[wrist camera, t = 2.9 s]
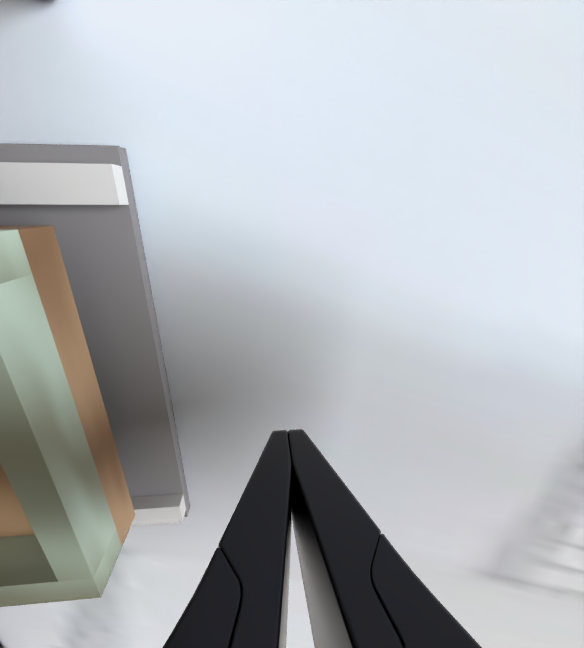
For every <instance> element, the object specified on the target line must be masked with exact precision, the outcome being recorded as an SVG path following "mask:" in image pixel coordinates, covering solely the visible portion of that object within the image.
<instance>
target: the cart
mask: <svg viewBox="0 0 584 648" xmlns="http://www.w3.org/2000/svg"><path fill="white" fill-rule="evenodd" d="M134 517H135V512H134V508H133V505H132V501H131V498H130V494H129V491H128V487H127V484H126V480H125V477H124V473H123V470H122V466H121V463H120V459H119V455H118V452H117V448H116V445H115V441H114V438H113V434H112V431H111V427H110V424H109V420H108V417H107V413H106V410H105V406H104V403H103V399H102V396H101V392H100V389H99V385H98V382H97V378H96V375H95V371H94V368H93V364H92V361H91V357H90V354H89V350H88V347H87V343H86V339H85V336H84V332H83V329H82V325H81V322H80V318H79V315H78V311H77V308H76V304H75V301H74V297H73V294H72V290H71V287H70V283H69V280H68V276H67V273H66V269H65V266H64V262H63V259H62V255H61V252H60V248H59V245H58V241H57V238H56V234H55V231H54V227H53V226H0V607H5V606H15V605H26V604H36V603H47V602H58V601H68V600H79V599H90V598H100V597H101V596H102V594H103V591H104V589H105V587H106V584H107V582H108V579H109V577H110V575H111V572H112V570H113V567H114V565H115V563H116V560H117V558H118V555H119V553H120V550H121V548H122V546H123V543H124V541H125V538H126V536H127V534H128V531H129V529H130V526H131V524H132V522H133V519H134Z"/></svg>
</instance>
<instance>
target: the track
mask: <svg viewBox="0 0 584 648" xmlns="http://www.w3.org/2000/svg"><path fill="white" fill-rule="evenodd" d="M0 226H53V227H54V231H55V234H56V238H57V241H58V245H59V248H60V252H61V255H62V259H63V262H64V266H65V269H66V273H67V276H68V280H69V283H70V287H71V290H72V294H73V297H74V301H75V304H76V308H77V311H78V315H79V318H80V322H81V325H82V329H83V332H84V336H85V339H86V343H87V347H88V350H89V354H90V357H91V361H92V364H93V368H94V371H95V375H96V378H97V382H98V385H99V389H100V392H101V396H102V399H103V403H104V406H105V410H106V413H107V417H108V420H109V424H110V427H111V431H112V434H113V438H114V441H115V445H116V448H117V452H118V455H119V459H120V463H121V466H122V470H123V473H124V477H125V480H126V484H127V487H128V491H129V494H130V498H131V501H132V505H133V508H134V512H135V517H134V519H133V522H132V524H131V526H138V525H151V524H164V523H177V522H183V519H184V517H187V516H188V512H189V508H190V504H189V499H188V493H187V488H186V482H185V476H184V471H183V465H182V460H181V454H180V449H179V443H178V437H177V432H176V426H175V421H174V415H173V410H172V404H171V399H170V393H169V387H168V382H167V376H166V371H165V365H164V360H163V354H162V348H161V343H160V337H159V332H158V326H157V321H156V315H155V309H154V304H153V298H152V293H151V287H150V282H149V276H148V271H147V265H146V259H145V254H144V248H143V243H142V237H141V232H140V226H139V220H138V215H137V209H136V204H135V198H134V193H133V187H132V182H131V176H130V170H129V165H128V159H127V154H126V149H125V148H122V147H119V146H96V145H47V144H0Z"/></svg>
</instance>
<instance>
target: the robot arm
mask: <svg viewBox="0 0 584 648" xmlns="http://www.w3.org/2000/svg"><path fill="white" fill-rule="evenodd" d="M291 512H292V521H293V528H294V534H295V539H296V545H297V550H298V556H299V562H300V567H301V573H302V578H303V584H304V590H305V595H306V601H307V606H308V612H309V617H310V623H311V629H312V634H313V640H314V645H315V648H482V647H481V646H480V645H479V644H478V643H477V642H476V641H475V640H474V639H473V638H472V637H471V635H470V634H469V633H468V632H467V631H466V630H465V629H464V628H463V627H462V626H461V625H460V623H459V622H458V621H457V620H456V619H455V618H454V617H453V616H452V615H451V614H450V613H449V612H448V610H447V609H446V608H445V607H444V606H443V605H442V604H441V603H440V602H439V601H438V600H437V598H436V597H435V596H434V595H433V594H432V593H431V592H430V591H429V589H428V588H427V587H426V586H425V585H424V584H423V583H422V582H421V580H420V579H419V578H418V577H417V576H416V575H415V574H414V572H413V571H412V570H411V569H410V567H409V566H408V565H407V564H406V562H405V561H404V560H403V559H402V557H401V556H400V555H399V554H398V553H397V551H396V550H395V549H394V547H393V546H392V545H391V543H390V542H389V541H388V540H387V538H386V537H385V536H384V534H381V531H380V529H379V528H378V527H377V525H376V524H375V523H374V521H373V520H372V519H371V518H370V516H369V515H368V514H367V512H366V511H365V510H364V508H363V507H362V506H361V505H360V503H359V502H358V501H357V499H356V498H355V497H354V495H353V494H352V493H351V491H350V490H349V489H348V488H347V486H346V485H345V484H344V482H343V481H342V480H341V478H340V477H339V476H338V475H337V473H336V472H335V471H334V469H333V468H332V467H331V465H330V464H329V463H328V461H327V460H326V459H325V458H324V456H323V455H322V454H321V452H320V451H319V450H318V448H317V447H316V446H315V445H314V443H313V442H312V441H311V439H310V438H309V437H308V435H307V434H306V433H305V432H304V430H302V429H297V430H289V431H288V432H287V431H286V430H279V431H273V432H272V434H271V436H270V438H269V440H268V442H267V444H266V446H265V448H264V450H263V452H262V454H261V457H260V459H259V461H258V463H257V465H256V467H255V469H254V471H253V473H252V475H251V478H250V480H249V482H248V484H247V486H246V488H245V490H244V492H243V494H242V496H241V499H240V501H239V503H238V505H237V507H236V509H235V511H234V513H233V515H232V517H231V520H230V522H229V524H228V526H227V528H226V530H225V532H224V534H223V536H222V538H221V541H220V543H219V548H217V549H216V551H215V553H214V555H213V557H212V559H211V561H210V563H209V565H208V567H207V569H206V571H205V573H204V575H203V577H202V579H201V581H200V583H199V585H198V587H197V589H196V591H195V593H194V595H193V597H192V598H191V600H190V602H189V604H188V605H187V607H186V609H185V611H184V612H183V614H182V616H181V617H180V619H179V621H178V623H177V624H176V626H175V628H174V630H173V631H172V633H171V635H170V636H169V638H168V640H167V641H166V643H165V645H164V646H163V648H286V635H287V613H288V590H289V568H290V546H291ZM0 648H2V647H1V646H0Z"/></svg>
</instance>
